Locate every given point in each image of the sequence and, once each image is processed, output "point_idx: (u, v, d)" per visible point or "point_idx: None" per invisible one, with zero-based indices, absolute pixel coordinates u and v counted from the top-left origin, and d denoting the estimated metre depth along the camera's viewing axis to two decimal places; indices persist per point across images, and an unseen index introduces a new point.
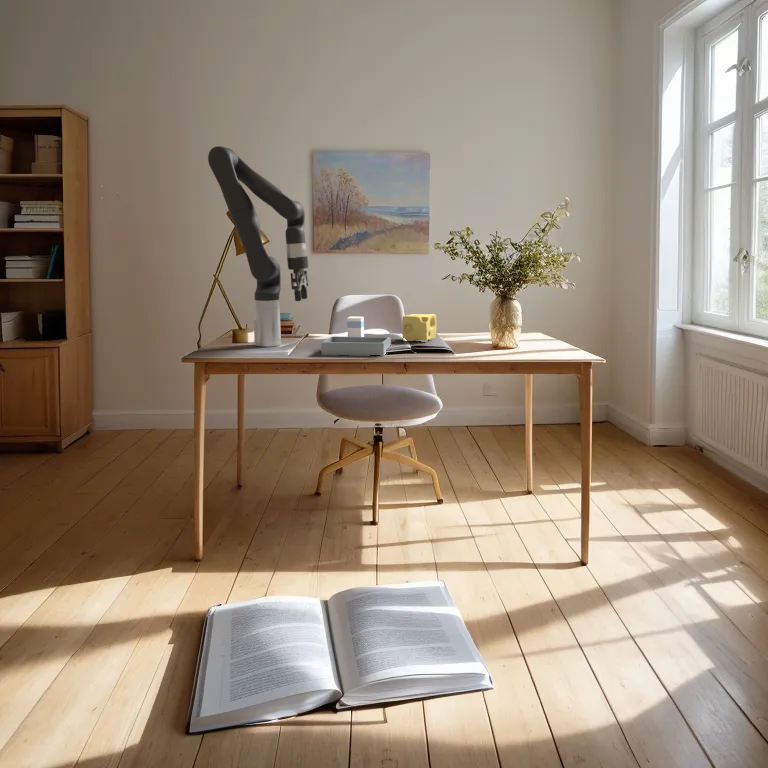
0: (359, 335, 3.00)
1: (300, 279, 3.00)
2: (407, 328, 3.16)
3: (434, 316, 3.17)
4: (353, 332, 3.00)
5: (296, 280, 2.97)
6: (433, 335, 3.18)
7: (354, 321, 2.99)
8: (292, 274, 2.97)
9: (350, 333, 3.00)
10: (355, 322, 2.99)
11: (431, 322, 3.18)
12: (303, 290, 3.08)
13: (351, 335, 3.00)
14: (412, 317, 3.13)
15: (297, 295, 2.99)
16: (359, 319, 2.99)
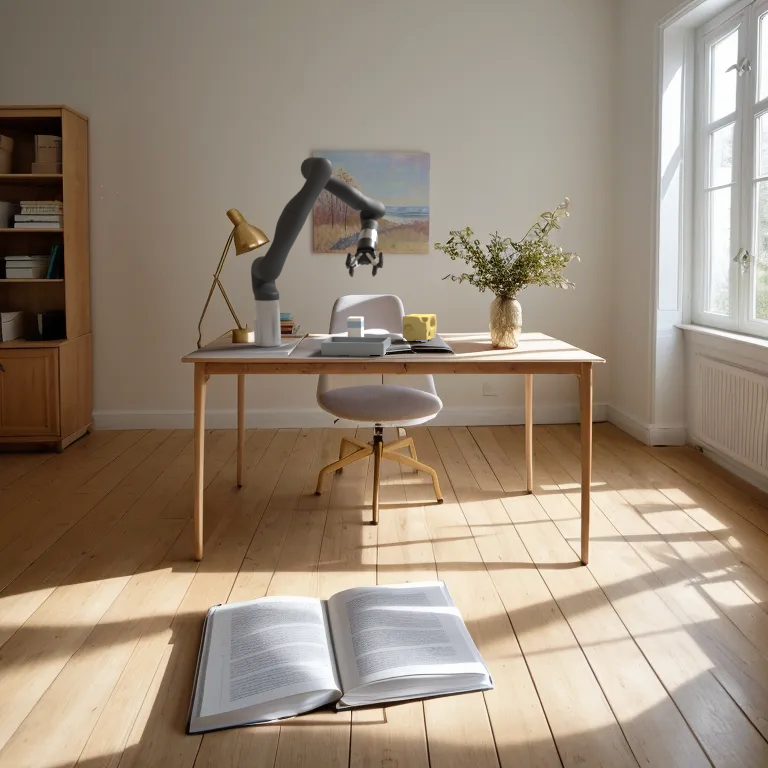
0: (359, 335, 3.00)
1: None
2: (407, 328, 3.16)
3: (434, 316, 3.17)
4: (353, 332, 3.00)
5: (382, 261, 3.14)
6: (433, 335, 3.18)
7: (354, 321, 2.99)
8: (382, 254, 3.15)
9: (350, 333, 3.00)
10: (355, 322, 2.99)
11: (431, 322, 3.18)
12: (353, 269, 3.14)
13: (351, 335, 3.00)
14: (412, 317, 3.13)
15: (376, 271, 3.11)
16: (359, 319, 2.99)
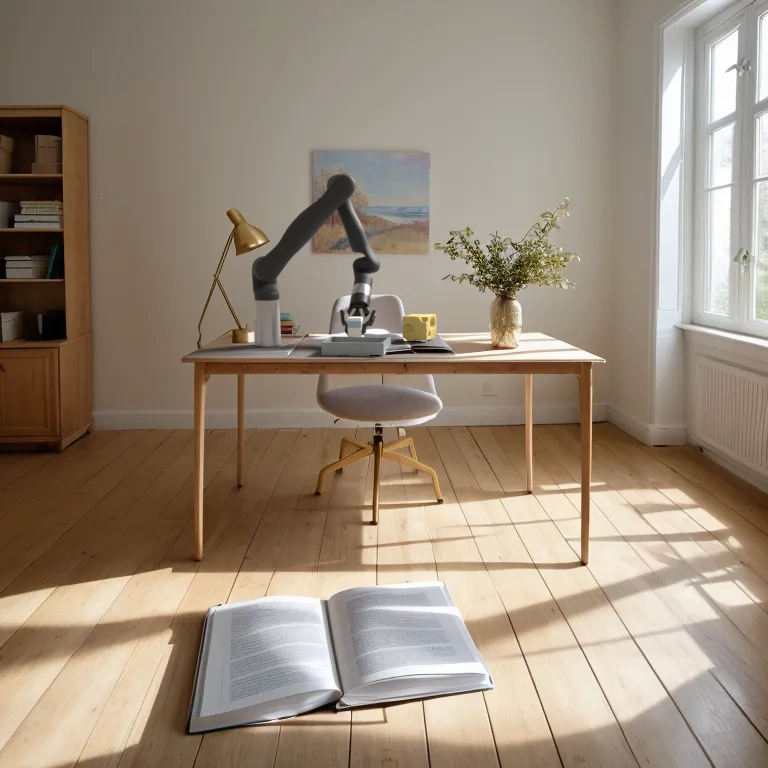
0: (359, 335, 3.00)
1: (364, 318, 3.06)
2: (407, 328, 3.16)
3: (434, 316, 3.17)
4: (353, 332, 3.00)
5: (374, 319, 3.04)
6: (433, 335, 3.18)
7: (354, 321, 2.99)
8: (375, 312, 3.04)
9: (350, 333, 3.00)
10: (354, 322, 2.99)
11: (431, 322, 3.18)
12: None
13: (351, 335, 3.00)
14: (412, 317, 3.13)
15: (365, 329, 3.01)
16: (359, 319, 2.99)
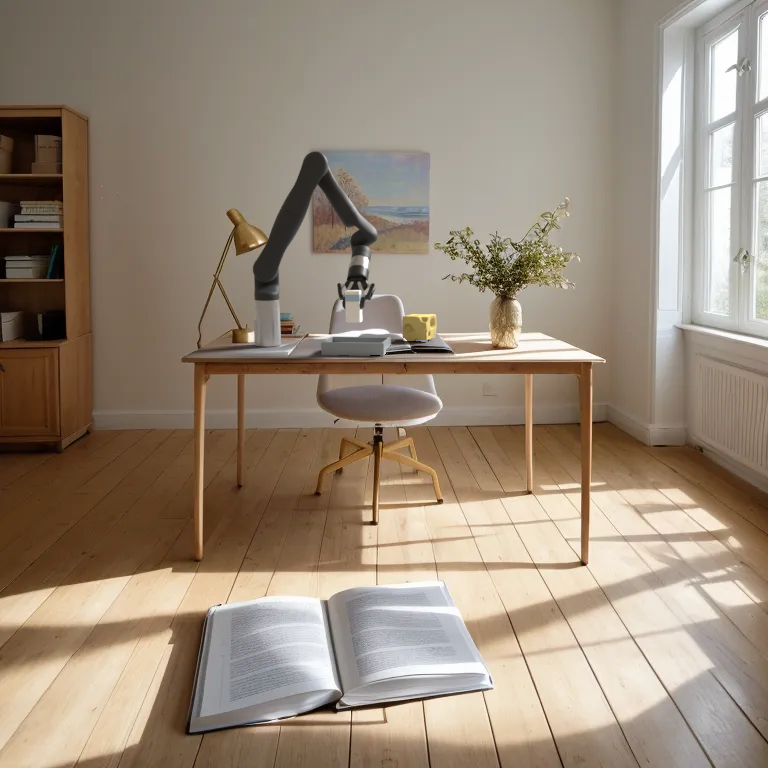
0: (357, 309, 2.86)
1: None
2: (407, 328, 3.16)
3: (434, 316, 3.17)
4: (351, 306, 2.86)
5: None
6: (433, 335, 3.18)
7: (352, 294, 2.85)
8: (374, 285, 2.90)
9: (348, 307, 2.86)
10: (353, 296, 2.85)
11: (431, 322, 3.18)
12: None
13: (349, 309, 2.86)
14: (412, 317, 3.13)
15: (364, 303, 2.87)
16: (357, 292, 2.85)
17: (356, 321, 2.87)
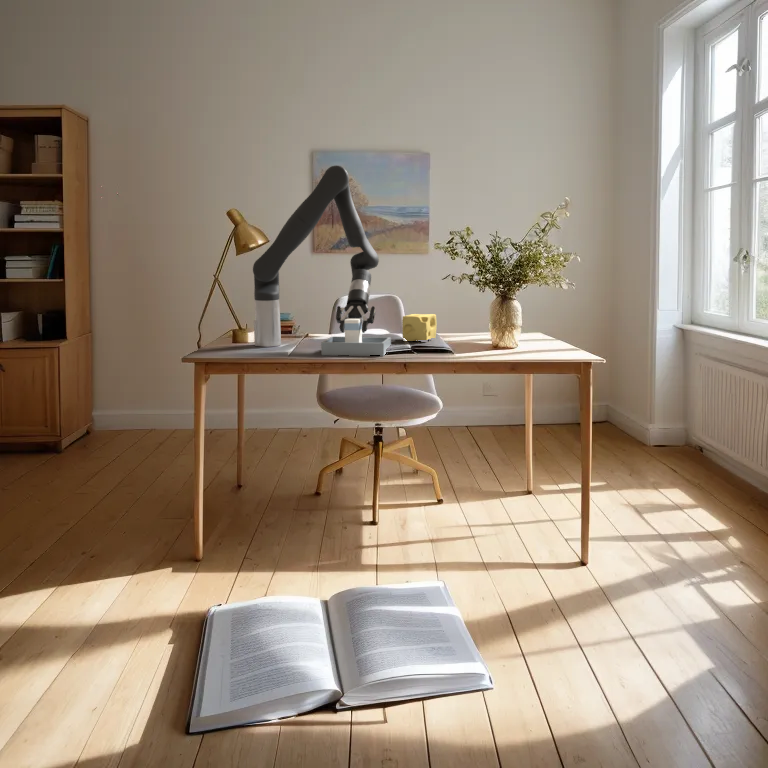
0: (357, 338, 2.87)
1: None
2: (407, 328, 3.16)
3: (434, 316, 3.17)
4: (351, 335, 2.87)
5: (374, 316, 2.91)
6: (433, 335, 3.18)
7: (351, 323, 2.86)
8: (374, 308, 2.91)
9: (348, 336, 2.88)
10: (352, 324, 2.86)
11: (431, 322, 3.18)
12: (344, 324, 2.90)
13: (348, 338, 2.88)
14: (412, 317, 3.13)
15: (366, 327, 2.88)
16: (357, 321, 2.86)
17: None
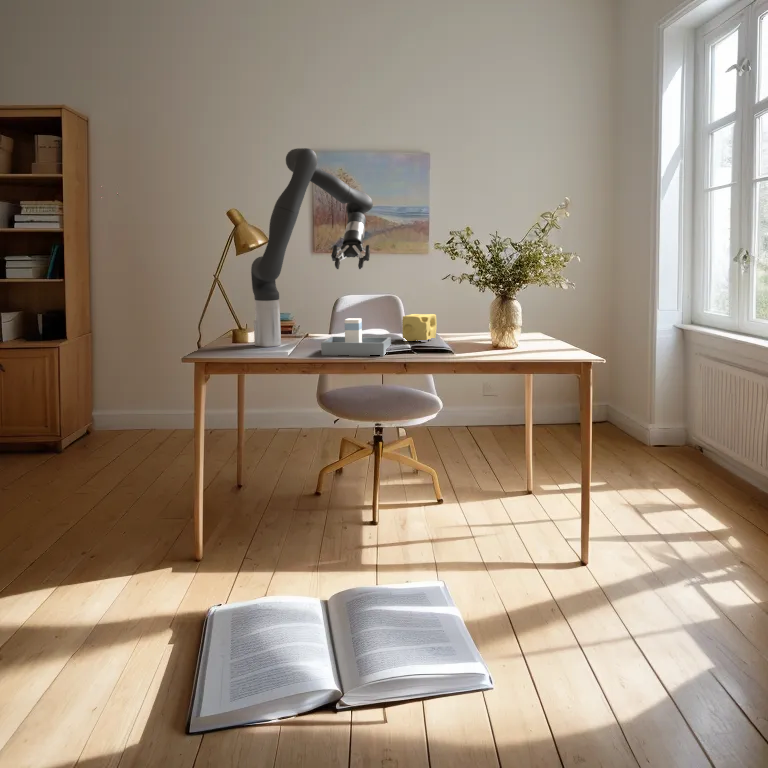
0: (357, 338, 2.87)
1: None
2: (407, 328, 3.16)
3: (434, 316, 3.17)
4: (351, 335, 2.87)
5: (369, 253, 3.10)
6: (433, 335, 3.18)
7: (351, 323, 2.86)
8: None
9: (348, 336, 2.88)
10: (352, 324, 2.86)
11: (431, 322, 3.18)
12: (339, 261, 3.09)
13: (348, 338, 2.88)
14: (412, 317, 3.13)
15: (362, 263, 3.07)
16: (357, 321, 2.86)
17: None
